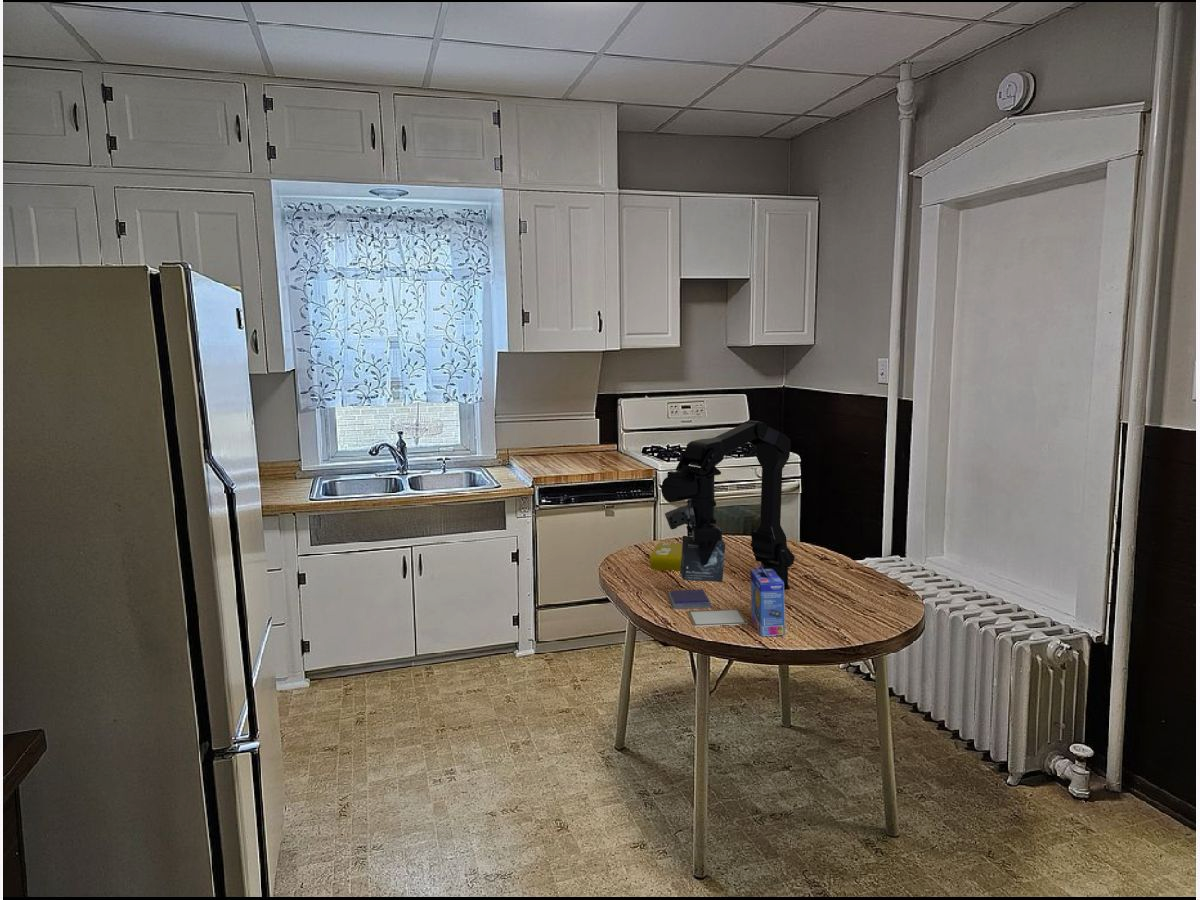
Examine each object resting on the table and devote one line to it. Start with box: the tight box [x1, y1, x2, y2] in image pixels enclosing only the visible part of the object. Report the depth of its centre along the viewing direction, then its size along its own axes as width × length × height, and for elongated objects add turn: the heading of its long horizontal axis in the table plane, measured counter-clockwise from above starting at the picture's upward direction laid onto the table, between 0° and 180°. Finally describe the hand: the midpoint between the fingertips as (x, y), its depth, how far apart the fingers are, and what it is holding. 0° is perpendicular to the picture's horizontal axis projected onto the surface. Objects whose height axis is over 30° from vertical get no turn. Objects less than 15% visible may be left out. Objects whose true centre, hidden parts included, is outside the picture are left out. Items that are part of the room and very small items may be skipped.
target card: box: [687, 608, 748, 628], centre depth 173 cm, size 12×9×1 cm
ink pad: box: [667, 588, 712, 610], centre depth 184 cm, size 9×9×2 cm
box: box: [679, 535, 726, 583], centre depth 176 cm, size 9×6×10 cm, turn 91°
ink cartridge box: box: [750, 562, 786, 637], centre depth 165 cm, size 10×6×14 cm, turn 2°
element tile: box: [649, 542, 683, 572], centre depth 215 cm, size 15×15×5 cm
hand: (702, 561), depth 176 cm, fingers closed on box, 5 cm apart
